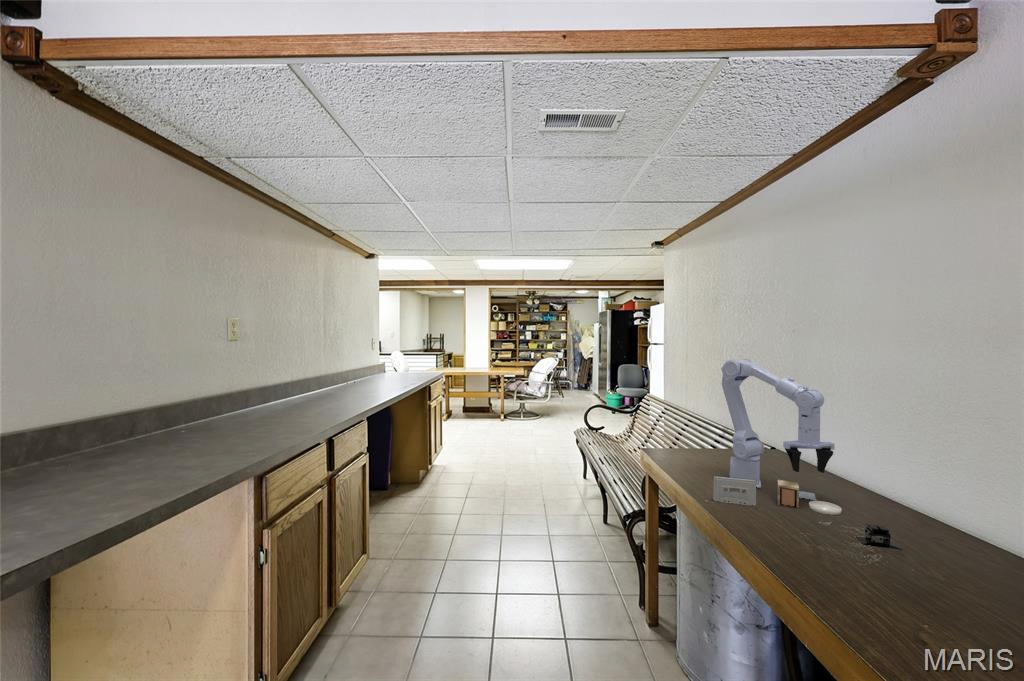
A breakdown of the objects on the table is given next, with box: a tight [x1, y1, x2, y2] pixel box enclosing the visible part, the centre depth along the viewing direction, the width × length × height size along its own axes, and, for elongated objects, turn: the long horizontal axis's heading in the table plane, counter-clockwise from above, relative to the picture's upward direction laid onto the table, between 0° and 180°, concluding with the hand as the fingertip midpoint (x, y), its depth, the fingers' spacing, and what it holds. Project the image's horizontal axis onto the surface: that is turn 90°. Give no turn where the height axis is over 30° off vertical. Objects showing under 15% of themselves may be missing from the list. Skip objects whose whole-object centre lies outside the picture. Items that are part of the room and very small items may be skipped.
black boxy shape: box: [855, 523, 906, 551], centre depth 112 cm, size 12×7×5 cm, turn 72°
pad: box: [799, 490, 817, 501], centre depth 145 cm, size 7×7×1 cm
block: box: [780, 487, 796, 507], centre depth 138 cm, size 3×3×5 cm
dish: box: [808, 500, 842, 516], centre depth 133 cm, size 8×8×1 cm
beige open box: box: [777, 479, 800, 509], centre depth 138 cm, size 5×6×6 cm
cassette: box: [712, 475, 757, 507], centre depth 138 cm, size 12×2×8 cm, turn 70°
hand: (808, 471), depth 139 cm, fingers open, 7 cm apart
